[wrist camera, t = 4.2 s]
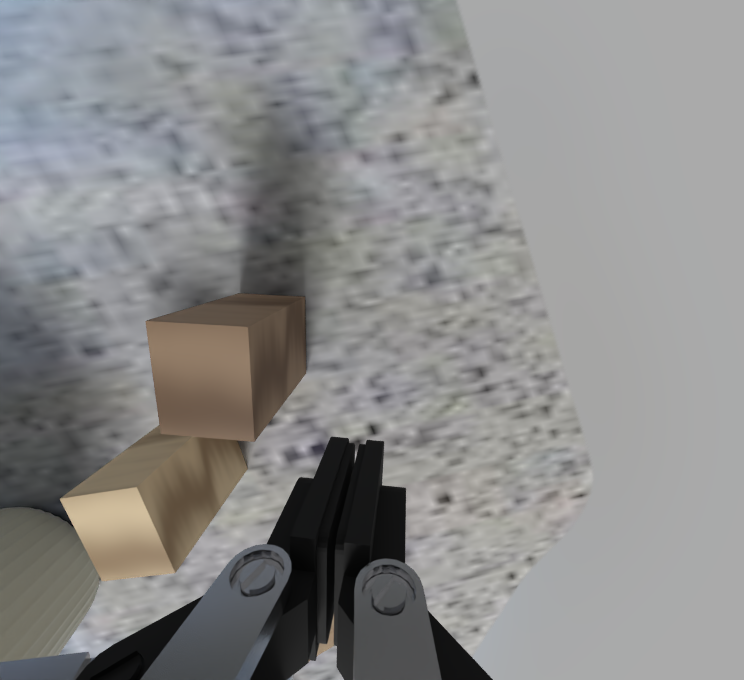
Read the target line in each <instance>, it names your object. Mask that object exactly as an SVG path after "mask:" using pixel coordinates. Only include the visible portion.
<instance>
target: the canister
mask: <svg viewBox="0 0 744 680" xmlns="http://www.w3.org/2000/svg"><path fill="white" fill-rule="evenodd" d="M99 578H100V576H99V574H98V572H97V570H96V568H95V566H94V565H93V563H92V561H91V559H90V557H89V555H88V553H87V551H86V549H85V547H84V545H83V543H82V541H81V539H80V537H79V535H78V534H77V532H76V530H75V528H74V527H72V526H71V525H70V524H69V523H68V522H67V521H64V520H62V519H61V518H60V517H58V516H54V515H53V514H51V513H50V512H44V511H42V510H41V509H33V508H30V507H25V508H24V507H12V508H2V509H0V662H6V661H14V660H23V659H31V658H40V657H49V656H57V655H59V654H60V652H61V651H62V649H63V648H64V646H65V645H66V643H67V642H68V641H69V639H70V638H71V636H72V635H73V633H74V632H75V630H76V629H77V628H78V626H79V624H80V623H81V621H82V620H83V618H84V617H85V615H86V614H87V612H88V610H89V609H90V607H91V605H92V603H93V601H94V598H95V595H96V592H97V590H98V586H99Z"/></svg>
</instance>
